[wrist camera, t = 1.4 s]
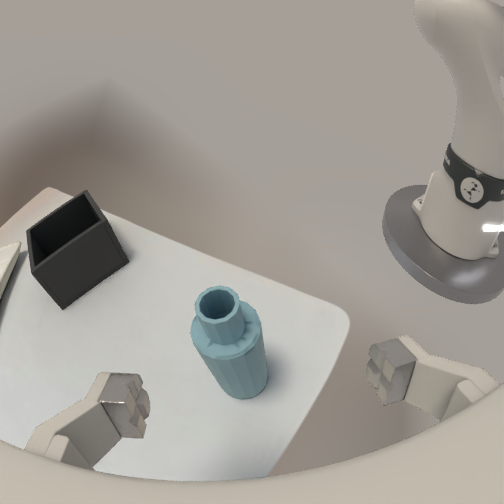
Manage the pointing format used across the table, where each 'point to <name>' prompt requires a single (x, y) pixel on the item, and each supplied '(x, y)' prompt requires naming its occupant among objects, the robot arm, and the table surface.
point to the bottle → (230, 341)
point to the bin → (73, 249)
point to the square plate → (7, 263)
